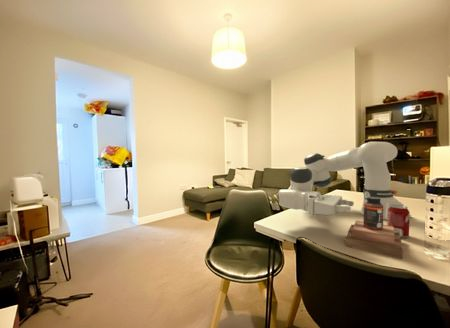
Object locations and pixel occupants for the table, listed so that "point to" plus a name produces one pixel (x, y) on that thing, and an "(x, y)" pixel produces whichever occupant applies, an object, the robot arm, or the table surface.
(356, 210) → the table surface
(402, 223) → the soda can
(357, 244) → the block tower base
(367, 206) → the supplement bottle
